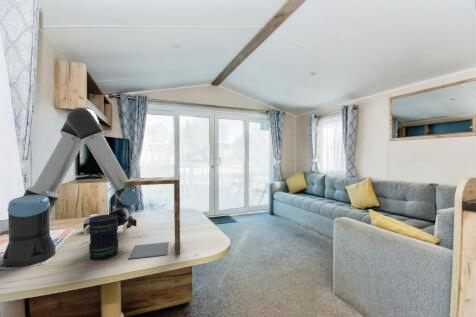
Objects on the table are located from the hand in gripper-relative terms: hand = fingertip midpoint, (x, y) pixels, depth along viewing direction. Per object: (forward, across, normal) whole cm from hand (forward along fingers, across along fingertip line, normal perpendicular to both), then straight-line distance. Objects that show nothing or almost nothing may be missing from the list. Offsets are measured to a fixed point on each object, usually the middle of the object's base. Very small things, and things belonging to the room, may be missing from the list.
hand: (105, 230), depth 89 cm
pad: (-1, -16, -10) cm, 19 cm away
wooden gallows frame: (-1, -18, -10) cm, 21 cm away
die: (-39, +16, -10) cm, 43 cm away
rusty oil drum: (-1, +1, -10) cm, 10 cm away
